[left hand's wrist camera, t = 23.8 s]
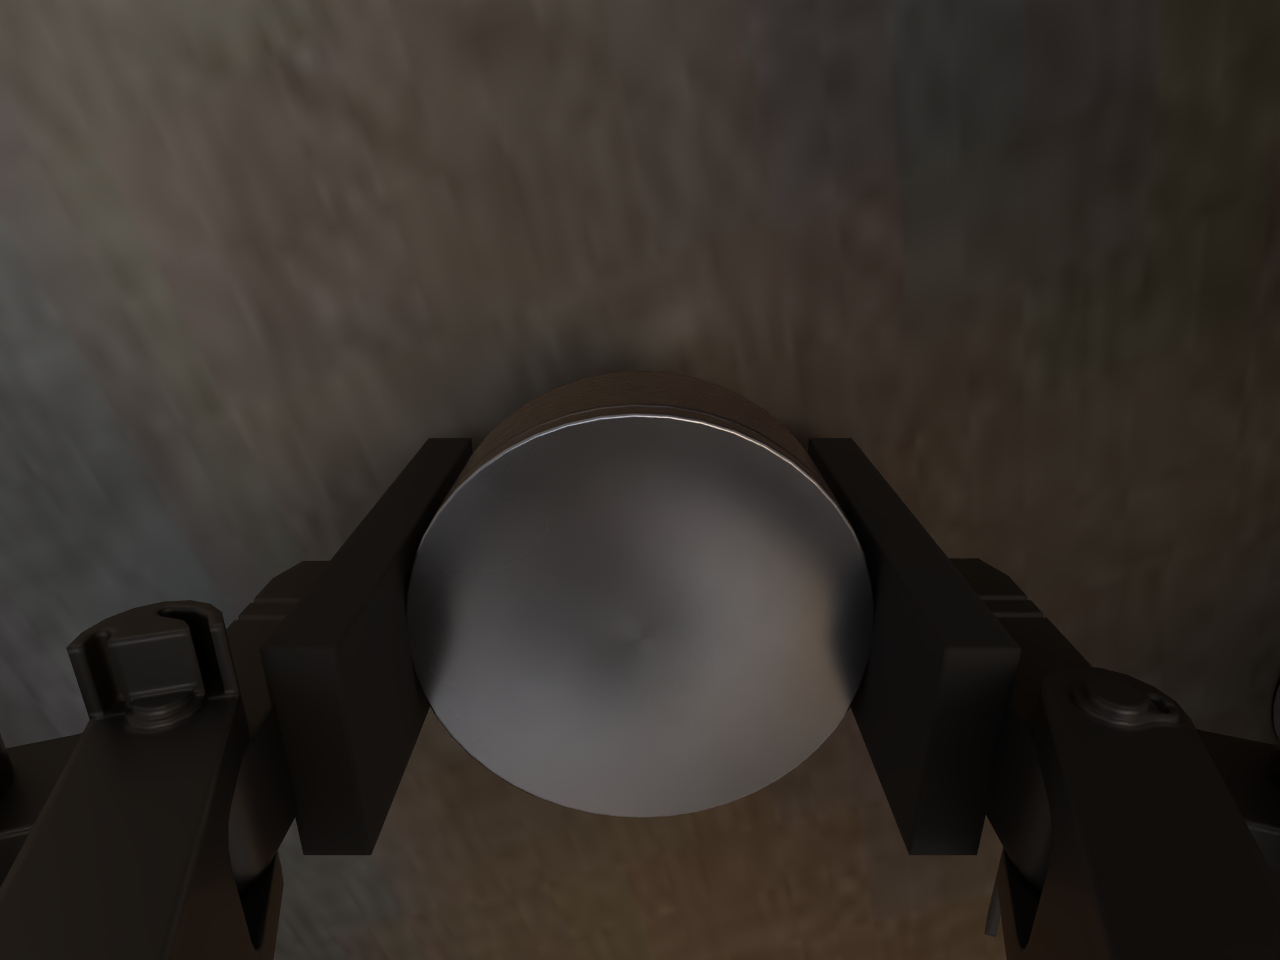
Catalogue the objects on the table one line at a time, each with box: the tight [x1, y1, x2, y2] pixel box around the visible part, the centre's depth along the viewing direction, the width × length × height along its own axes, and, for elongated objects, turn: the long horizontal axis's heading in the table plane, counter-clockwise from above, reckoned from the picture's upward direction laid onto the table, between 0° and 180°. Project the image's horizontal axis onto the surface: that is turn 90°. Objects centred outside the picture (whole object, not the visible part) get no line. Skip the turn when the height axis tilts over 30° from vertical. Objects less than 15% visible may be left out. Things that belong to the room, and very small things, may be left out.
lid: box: [405, 371, 876, 818], centre depth 11 cm, size 6×6×2 cm
